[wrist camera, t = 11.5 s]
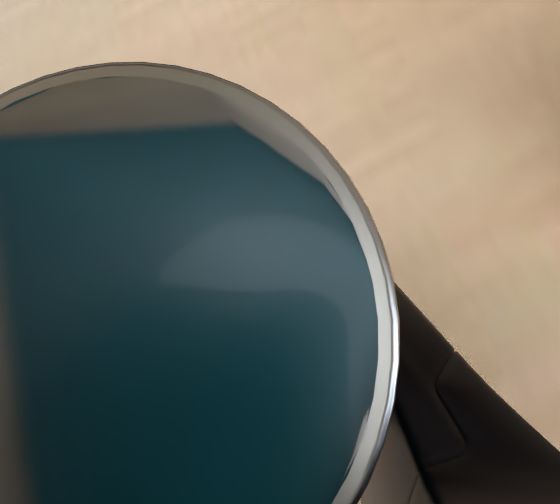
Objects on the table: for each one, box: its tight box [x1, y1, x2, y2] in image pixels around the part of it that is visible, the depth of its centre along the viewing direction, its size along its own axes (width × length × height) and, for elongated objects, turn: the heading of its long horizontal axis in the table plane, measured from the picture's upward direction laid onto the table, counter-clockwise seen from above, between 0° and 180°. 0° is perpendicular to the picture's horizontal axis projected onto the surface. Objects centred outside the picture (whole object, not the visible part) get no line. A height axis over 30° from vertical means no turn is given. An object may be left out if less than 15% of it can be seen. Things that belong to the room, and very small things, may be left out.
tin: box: [0, 62, 400, 504], centre depth 9 cm, size 5×5×12 cm
